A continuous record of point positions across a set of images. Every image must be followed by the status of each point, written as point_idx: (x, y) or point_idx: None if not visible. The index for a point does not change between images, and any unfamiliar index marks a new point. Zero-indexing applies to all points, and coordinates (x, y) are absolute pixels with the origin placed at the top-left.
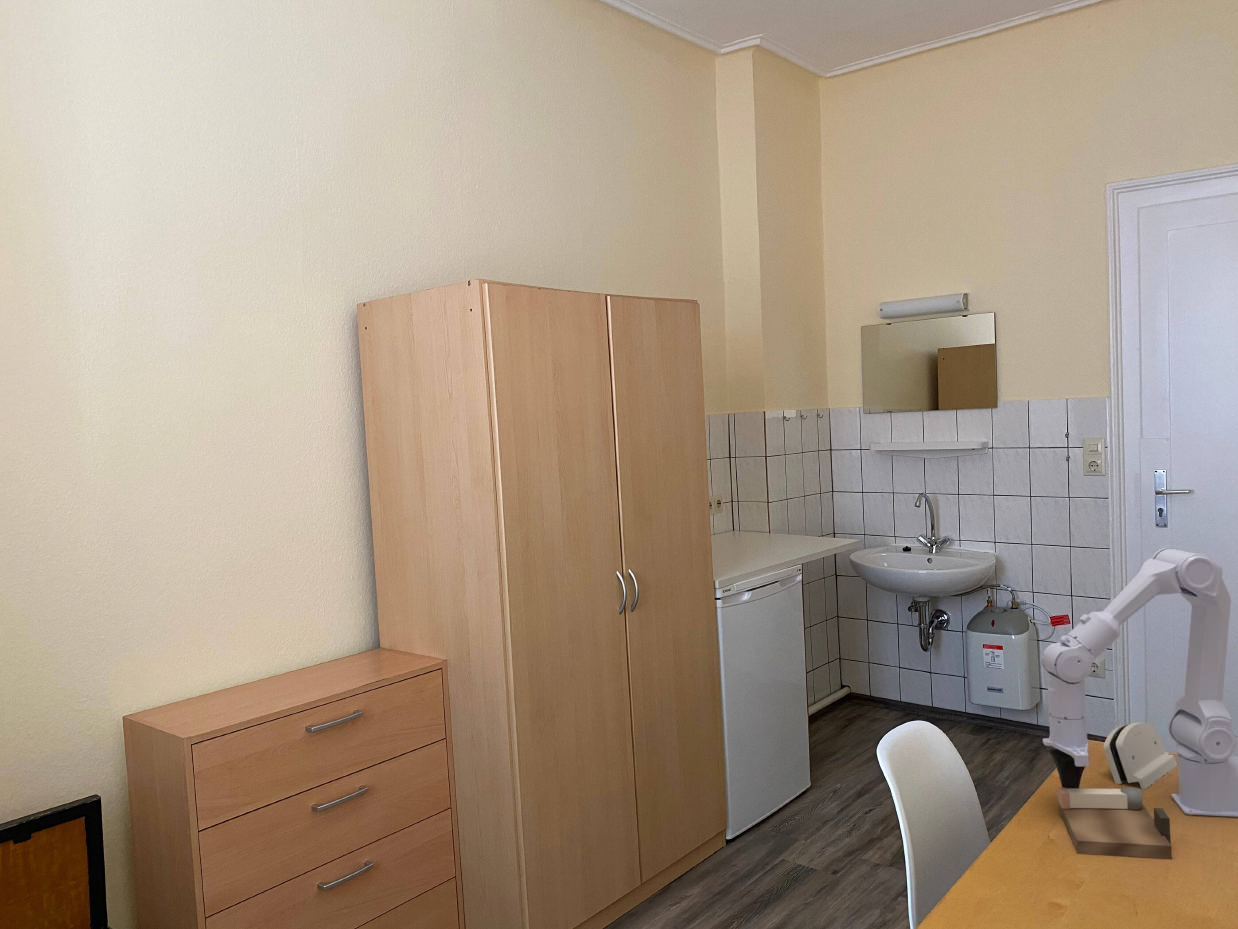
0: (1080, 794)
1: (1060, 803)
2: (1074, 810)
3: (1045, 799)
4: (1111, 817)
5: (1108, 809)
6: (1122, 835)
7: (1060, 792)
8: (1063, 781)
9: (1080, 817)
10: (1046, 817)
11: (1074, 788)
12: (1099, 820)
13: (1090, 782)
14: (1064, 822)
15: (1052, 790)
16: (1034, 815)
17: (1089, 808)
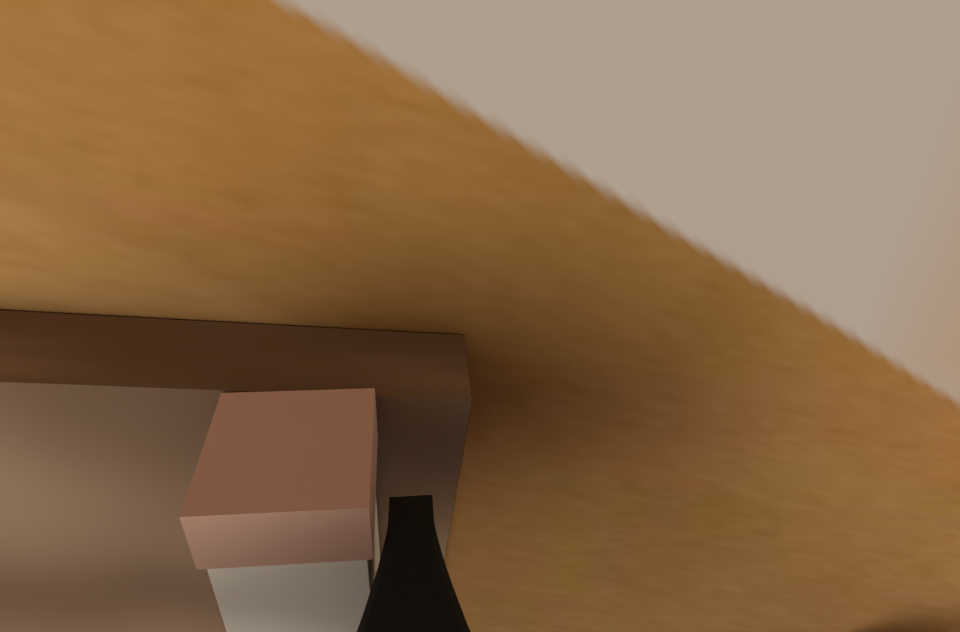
0: (227, 623)
1: (285, 407)
2: None
3: (702, 294)
4: (129, 620)
5: None
6: None
7: (248, 504)
8: (364, 618)
9: (51, 473)
10: (310, 216)
11: None
12: (38, 562)
13: (886, 562)
14: (183, 326)
15: (853, 372)
16: (346, 121)
17: None
